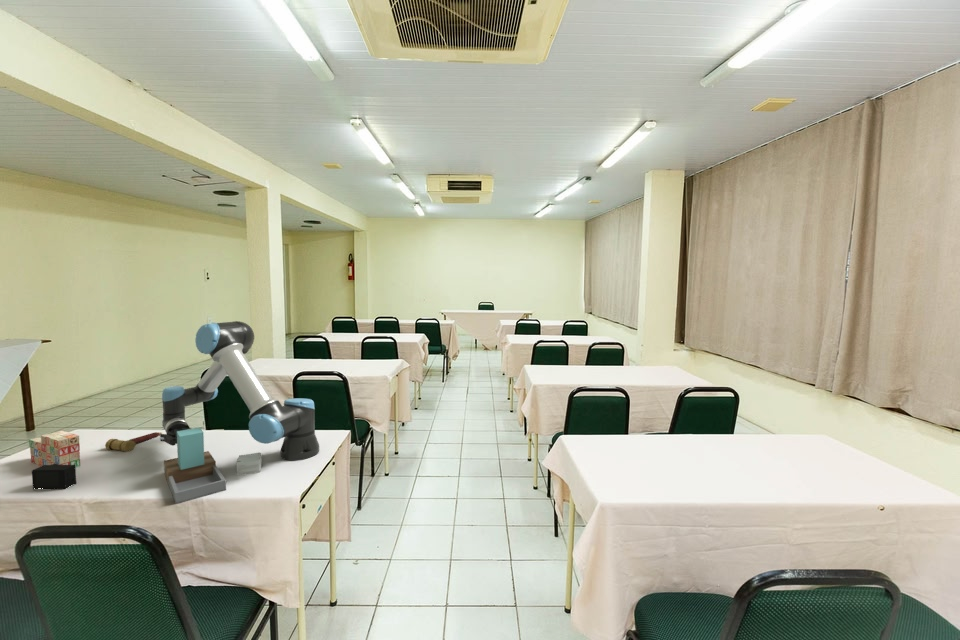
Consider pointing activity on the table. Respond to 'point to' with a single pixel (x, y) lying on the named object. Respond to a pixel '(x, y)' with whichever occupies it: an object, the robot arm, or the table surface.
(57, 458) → the stack of blocks
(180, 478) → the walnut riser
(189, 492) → the bin
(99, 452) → the table surface
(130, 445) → the gavel
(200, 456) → the teal block
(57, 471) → the digital camera
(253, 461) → the small box
